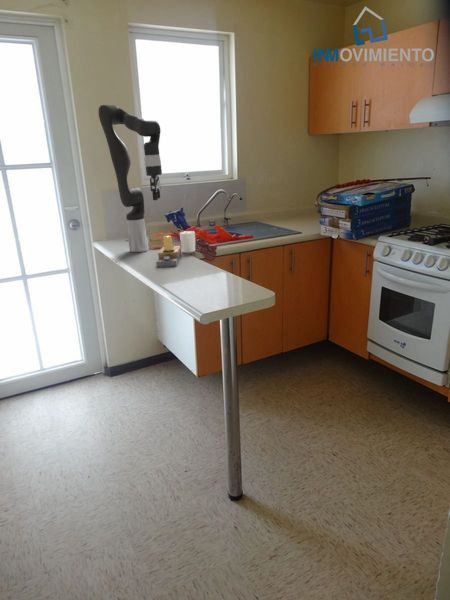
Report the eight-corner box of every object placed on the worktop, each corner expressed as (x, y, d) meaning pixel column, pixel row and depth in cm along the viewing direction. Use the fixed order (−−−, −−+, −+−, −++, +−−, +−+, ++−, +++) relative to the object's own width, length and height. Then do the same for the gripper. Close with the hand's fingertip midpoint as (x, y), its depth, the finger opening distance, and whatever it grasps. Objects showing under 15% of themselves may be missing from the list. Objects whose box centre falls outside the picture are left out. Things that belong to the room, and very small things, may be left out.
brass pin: (165, 262, 206) (162, 237, 202) (166, 260, 210) (163, 235, 206) (173, 261, 206) (170, 236, 202) (174, 259, 210) (171, 235, 206)
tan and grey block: (156, 267, 197) (155, 253, 195) (163, 256, 218) (162, 243, 216) (176, 266, 197) (174, 252, 195) (181, 255, 218) (180, 242, 216)
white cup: (182, 253, 222) (181, 234, 219) (180, 250, 229) (178, 232, 226) (197, 251, 224) (196, 232, 221) (194, 249, 231) (193, 230, 228)
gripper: (148, 165, 215) (151, 198, 220) (142, 165, 201) (146, 201, 206) (163, 164, 215) (166, 197, 220) (158, 164, 201) (162, 200, 206)
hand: (156, 199), depth 213 cm, fingers open, 8 cm apart
